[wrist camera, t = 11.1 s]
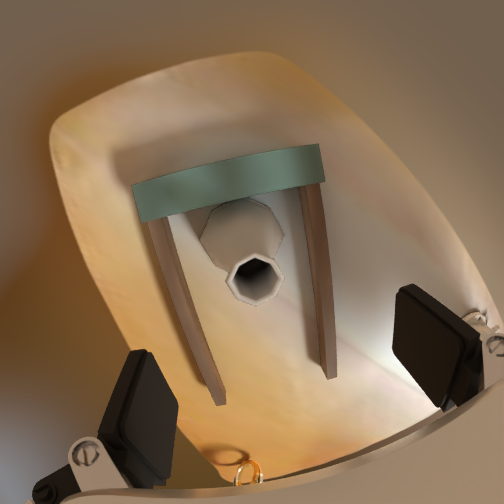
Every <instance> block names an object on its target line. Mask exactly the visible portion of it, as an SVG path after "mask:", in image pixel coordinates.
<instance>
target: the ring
mask: <svg viewBox="0 0 504 504" xmlns="http://www.w3.org/2000/svg"><path fill="white" fill-rule="evenodd" d="M249 464H252V465H253V467H254V476H253V479H252V481H251V483H250V484H256V482H257V480H258V482H257V483H262V482H263V472H262V468H261V466H260V465H259V464H258V463H257V462H255V461H252V460H247V461H243V462H242V464H241V465H240V466H239V467H238V468H237V470H236V473H235V476H234V486H242V485H241V481H240V477H241V473H242V471H243V469H244V468H245V467H248V466H249Z"/></svg>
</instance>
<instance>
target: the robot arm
mask: <svg viewBox="0 0 504 504" xmlns="http://www.w3.org/2000/svg"><path fill="white" fill-rule="evenodd" d="M499 331H500V327H499V326H498V325H496V326H494V327H493V328H492V329H490V328H489V327H488V326H486V319H485V317H484V316H483V315H482V314H481V313H479V312H473V313H470V314H468V315H467V316H465V317H464V318H463V319H461V318H460V317H459V316H457V315H456V314H455V313H453V312H452V311H451V310H449V309H448V308H447V307H445V306H444V305H443V304H441V303H440V302H439V301H437V300H436V299H435V298H433V297H432V296H430V295H429V294H428V293H426V292H425V291H423V290H422V289H421V288H419V287H418V286H416V285H415V284H409V285H407V286H404V287H401V288H400V289H399V292H398V293H397V294H396V301H395V320H394V333H393V343H392V350H393V353H394V355H395V356H396V357H397V359H398V360H399V361H400V362H401V363H402V365H403V366H404V367H405V368H406V370H407V371H408V372H409V373H410V375H411V376H412V377H413V378H414V380H415V381H416V382H417V383H418V385H419V386H420V387H421V388H422V390H423V391H424V392H425V394H426V395H427V396H428V397H429V399H430V400H431V401H432V403H433V404H434V405H435V406H436V407H437V408H439V407H440V408H441V409H442V410H443V412H446V411H447V410H449V409H450V408H452V407H453V406H455V405H456V406H457V407H458V408H456V409H455V410H453V411H452V412H450V413H448V414H446V415H445V416H443V417H441V418H440V419H438V420H436V421H435V422H433V423H431V424H429V425H427V426H426V427H424V428H422V429H420V430H418V431H416V432H414V433H412V434H410V435H408V436H406V437H404V438H402V439H400V440H398V441H396V442H394V443H392V444H389V445H387V446H385V447H382V448H380V449H378V450H375V451H373V452H370V453H368V454H365V455H363V456H360V457H357V458H355V459H352V460H349V461H346V462H343V463H340V464H337V465H334V466H331V467H327V468H324V469H320V470H317V471H313V472H309V473H306V474H301V475H297V476H293V477H288V478H284V479H279V480H274V481H268V482H262V483H256V484H249V485H242V486H233V487H223V488H209V489H185V490H184V489H183V490H182V489H180V490H168V489H167V490H165V489H153V485H156V486H166V479H169V478H170V476H171V467H172V456H173V448H174V440H175V431H176V423H177V416H178V402H177V399H176V398H175V396H174V394H173V392H172V391H171V389H170V387H169V385H168V383H167V381H166V379H165V378H164V376H163V374H162V372H161V370H160V368H159V366H158V364H157V362H156V360H155V358H154V356H153V354H152V353H151V352H148V351H147V350H146V349H140V350H133V351H130V353H129V355H128V357H127V359H126V362H125V364H124V366H123V369H122V371H121V374H120V376H119V378H118V381H117V383H116V385H115V388H114V391H113V393H112V395H111V398H110V401H109V403H108V406H107V408H106V411H105V413H104V416H103V419H102V422H101V424H100V427H99V430H98V433H99V434H98V437H97V439H96V438H94V437H85V438H82V439H79V440H78V441H76V442H75V443H74V444H73V445H72V446H71V448H70V450H69V454H68V459H69V464H67V465H66V466H64V467H62V468H61V469H59V470H57V471H56V472H54V473H52V474H50V475H48V476H47V477H45V478H43V479H41V480H40V481H38V482H37V483H36V485H35V486H34V488H33V491H32V497H33V501H31V500H30V499H29V500H28V501H27V502H26V503H25V504H504V334H502V333H498V332H499Z"/></svg>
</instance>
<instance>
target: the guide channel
mask: <svg viewBox="0 0 504 504" xmlns="http://www.w3.org/2000/svg"><path fill="white" fill-rule="evenodd" d="M320 182H325V177H324V171H323V165H322V159H321V154H320V149H319V144H312V145H305V146H298V147H292V148H286V149H280V150H274V151H268V152H263V153H258V154H253V155H247V156H243V157H238V158H233V159H228V160H224V161H219V162H215V163H211V164H207V165H203V166H198V167H195V168H191V169H187V170H183V171H179V172H175V173H172V174H168V175H165V176H161V177H158V178H154V179H151V180H148V181H144V182H141V183H138V184H135V185H131V186H132V190H133V194H134V198H135V201H136V205H137V209H138V213H139V216H140V220H141V223H144V222H147V224H148V227H149V231H150V234H151V237H152V241H153V244H154V247H155V251H156V254H157V257H158V260H159V263H160V266H161V270H162V273H163V276H164V279H165V281H166V284H167V287H168V290H169V293H170V296H171V299H172V301H173V304H174V307H175V310H176V312H177V315H178V318H179V320H180V323H181V326H182V328H183V331H184V333H185V336H186V338H187V341H188V343H189V346H190V348H191V351H192V353H193V355H194V358H195V360H196V362H197V365H198V367H199V369H200V372H201V374H202V376H203V378H204V381H205V383H206V385H207V387H208V389H209V392H210V394H211V396H212V398H213V400H214V402H215V404H216V406H220V405H226V390H225V387H224V385H223V383H222V380H221V378H220V375H219V373H218V370H217V367H216V365H215V362H214V360H213V357H212V354H211V352H210V349H209V346H208V344H207V341H206V338H205V335H204V333H203V330H202V327H201V324H200V321H199V319H198V316H197V313H196V310H195V307H194V304H193V301H192V298H191V295H190V292H189V289H188V286H187V282H186V279H185V276H184V273H183V270H182V266H181V263H180V260H179V257H178V253H177V250H176V246H175V243H174V239H173V236H172V232H171V229H170V225H169V221H168V218H167V216H170V215H174V214H178V213H182V212H186V211H189V210H193V209H197V208H202V207H206V206H210V205H214V204H218V203H222V202H227V201H231V200H236V199H240V198H245V197H249V196H254V195H258V194H263V193H268V192H273V191H278V190H283V189H288V188H293V187H298V189H299V195H300V201H301V207H302V213H303V219H304V225H305V232H306V238H307V245H308V252H309V259H310V266H311V274H312V282H313V290H314V298H315V307H316V316H317V326H318V336H319V347H320V359H321V368H322V370H323V372H324V374H325V376H326V378H327V380H329V379H332V378H335V377H337V354H336V332H335V315H334V301H333V289H332V278H331V268H330V258H329V249H328V241H327V233H326V225H325V218H324V211H323V204H322V197H321V191H320V185H319V183H320Z"/></svg>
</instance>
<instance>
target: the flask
mask: <svg viewBox="0 0 504 504" xmlns="http://www.w3.org/2000/svg"><path fill="white" fill-rule="evenodd" d="M283 237H284V234H283V232H282V230H281V228H280V226H279V224H278V222H277V220H276V218H275V216H274V214H273V212H272V211H271V209H270V208H269V207H267V206H265V205H263V204H260V203H258V202H256V201H254V200H251V199H249V198H247V197H245V198H240V199H236V200H231V201H229V202H227V203H225V204H223V205H221V206H220V207H218V208H216V209H214V210H213V211H212V212H211V214H210V217H209V219H208V221H207V224H206V226H205V228H204V231H203V233H202V235H201V238H200V241H201V243H202V245H203V246H204V248H205V250H206V251H207V253H208V254H209V256H210V258H211V259H212V261H213V262H214V264H215V266H217V267H219V268H221V269H223V270H225V271H227V272H229V274H228V276H227V278H226V280H225V282H226V284H227V285H228V287H229V288H230V290H231V291H232V293H233V294H234V296H235V298H236V299H237V300H240V301H243V302H246V303H248V304H251V305H254V306H258V305H260V304H261V303H263V302H265V301H267V300H269V299H271V298H273V297H275V295H276V293H277V292H278V290H279V288H280V286H281V284H282V282H283V280H284V276H283V274H282V272H281V270H280V268H279V266H278V264H277V263H276V261H275V259H274V258H273V257H274V255H275V253H276V251H277V249H278V247H279V245H280V243H281V241H282V239H283Z"/></svg>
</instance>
